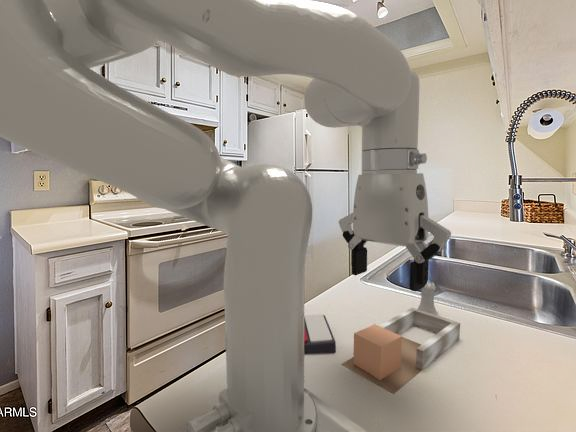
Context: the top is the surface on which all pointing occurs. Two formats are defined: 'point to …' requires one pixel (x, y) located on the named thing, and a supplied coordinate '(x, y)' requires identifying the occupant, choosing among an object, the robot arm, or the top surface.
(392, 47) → the robot arm
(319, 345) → the calculator
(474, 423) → the top surface
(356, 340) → the block
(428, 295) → the rook chess piece
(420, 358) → the metal sorting tray
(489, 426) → the top surface
